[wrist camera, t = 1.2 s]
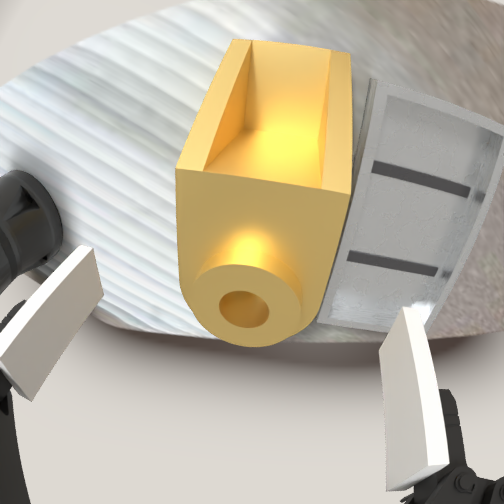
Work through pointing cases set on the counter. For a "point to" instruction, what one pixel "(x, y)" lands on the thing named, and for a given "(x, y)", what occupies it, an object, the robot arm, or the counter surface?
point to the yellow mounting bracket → (265, 190)
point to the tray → (410, 207)
